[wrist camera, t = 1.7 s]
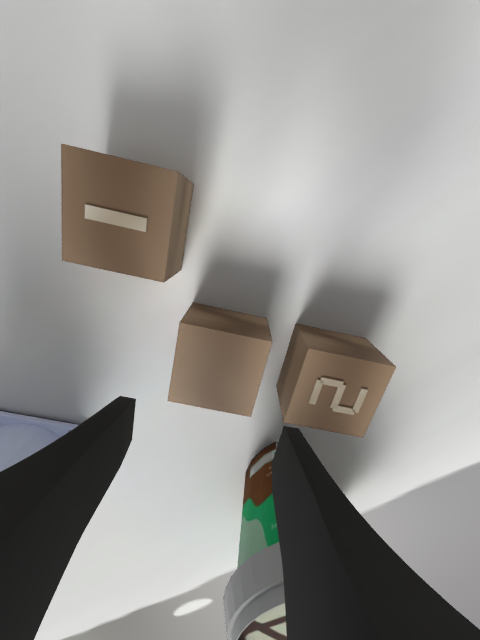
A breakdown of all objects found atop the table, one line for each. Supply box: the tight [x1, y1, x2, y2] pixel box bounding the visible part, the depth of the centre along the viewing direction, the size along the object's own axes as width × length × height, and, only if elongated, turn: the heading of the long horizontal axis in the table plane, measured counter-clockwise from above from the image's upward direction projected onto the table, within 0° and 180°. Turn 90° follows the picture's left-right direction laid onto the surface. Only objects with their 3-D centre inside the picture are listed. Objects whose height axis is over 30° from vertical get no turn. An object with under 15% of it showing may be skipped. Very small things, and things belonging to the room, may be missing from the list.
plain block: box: [168, 303, 272, 417], centre depth 17 cm, size 5×5×4 cm
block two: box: [277, 324, 396, 437], centre depth 17 cm, size 5×5×4 cm
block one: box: [61, 144, 194, 282], centre depth 14 cm, size 5×5×4 cm
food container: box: [223, 442, 287, 640], centre depth 19 cm, size 12×6×10 cm, turn 32°
